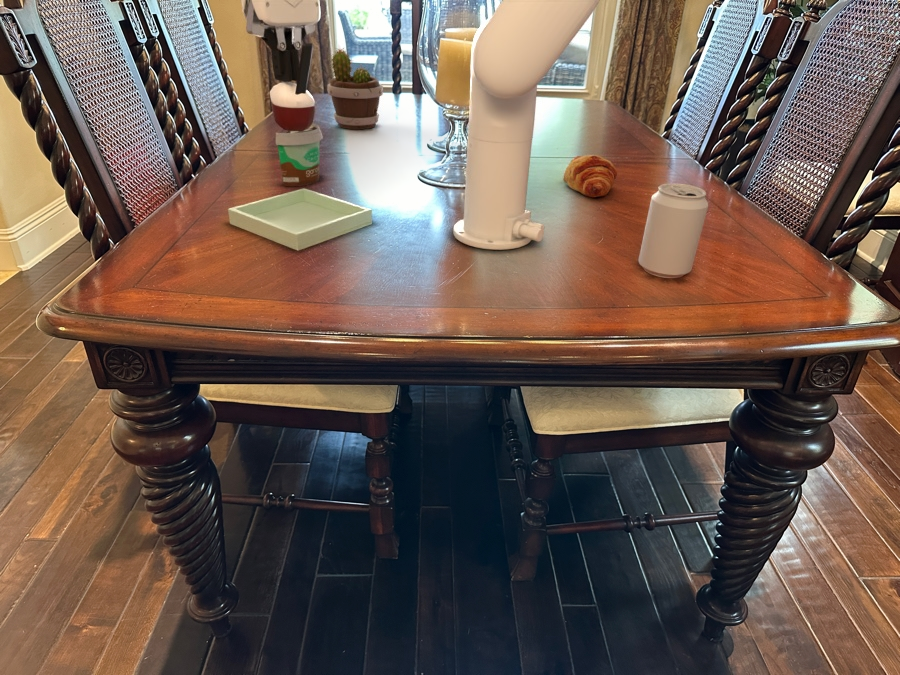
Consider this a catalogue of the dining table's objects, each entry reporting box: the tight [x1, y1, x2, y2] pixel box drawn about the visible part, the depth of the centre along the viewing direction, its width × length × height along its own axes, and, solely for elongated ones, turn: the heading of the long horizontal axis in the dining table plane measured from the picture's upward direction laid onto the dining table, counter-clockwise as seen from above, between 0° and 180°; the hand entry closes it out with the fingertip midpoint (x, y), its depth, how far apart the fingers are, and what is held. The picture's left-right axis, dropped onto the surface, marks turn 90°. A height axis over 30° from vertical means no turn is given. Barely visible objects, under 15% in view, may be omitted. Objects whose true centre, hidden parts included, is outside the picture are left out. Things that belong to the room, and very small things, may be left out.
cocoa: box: [269, 42, 316, 132], centre depth 88 cm, size 10×6×12 cm, turn 21°
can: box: [638, 182, 709, 279], centre depth 85 cm, size 8×8×12 cm
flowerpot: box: [326, 45, 384, 131], centre depth 160 cm, size 14×15×20 cm
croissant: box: [562, 154, 618, 198], centre depth 122 cm, size 21×10×8 cm, turn 179°
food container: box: [275, 122, 323, 187], centre depth 118 cm, size 12×6×10 cm, turn 168°
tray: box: [227, 187, 373, 252], centre depth 99 cm, size 17×16×2 cm
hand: (287, 79), depth 87 cm, fingers closed on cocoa, 1 cm apart
